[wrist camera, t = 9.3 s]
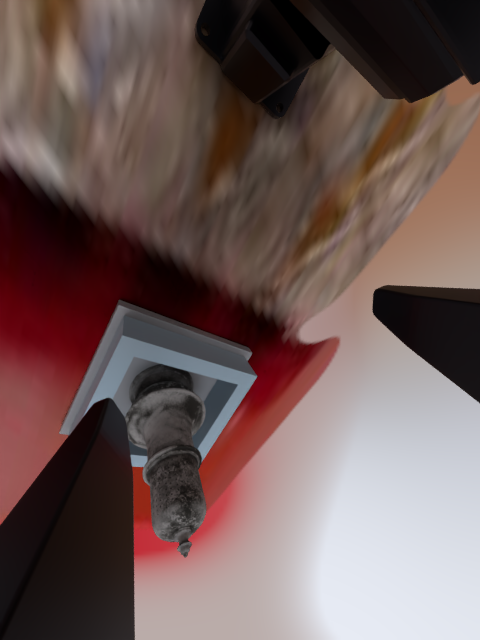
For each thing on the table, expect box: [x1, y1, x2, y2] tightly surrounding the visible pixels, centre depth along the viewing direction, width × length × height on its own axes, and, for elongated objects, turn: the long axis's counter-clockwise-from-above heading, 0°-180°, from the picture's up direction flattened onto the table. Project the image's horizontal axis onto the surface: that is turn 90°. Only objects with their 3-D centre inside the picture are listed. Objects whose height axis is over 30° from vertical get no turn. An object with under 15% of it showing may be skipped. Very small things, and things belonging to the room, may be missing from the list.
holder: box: [59, 300, 257, 467], centre depth 21 cm, size 12×12×4 cm
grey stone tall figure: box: [125, 364, 206, 557], centre depth 17 cm, size 6×6×12 cm
